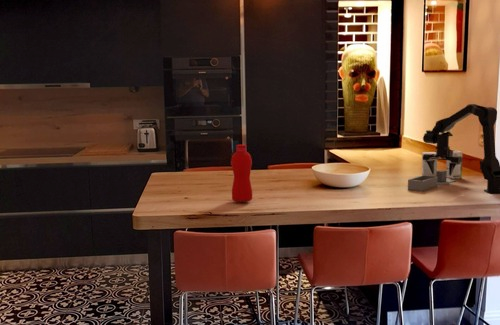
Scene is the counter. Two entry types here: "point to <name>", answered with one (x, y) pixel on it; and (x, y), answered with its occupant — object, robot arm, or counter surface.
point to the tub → (422, 183)
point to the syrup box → (457, 169)
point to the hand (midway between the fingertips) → (441, 174)
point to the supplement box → (426, 168)
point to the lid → (442, 177)
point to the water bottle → (241, 174)
